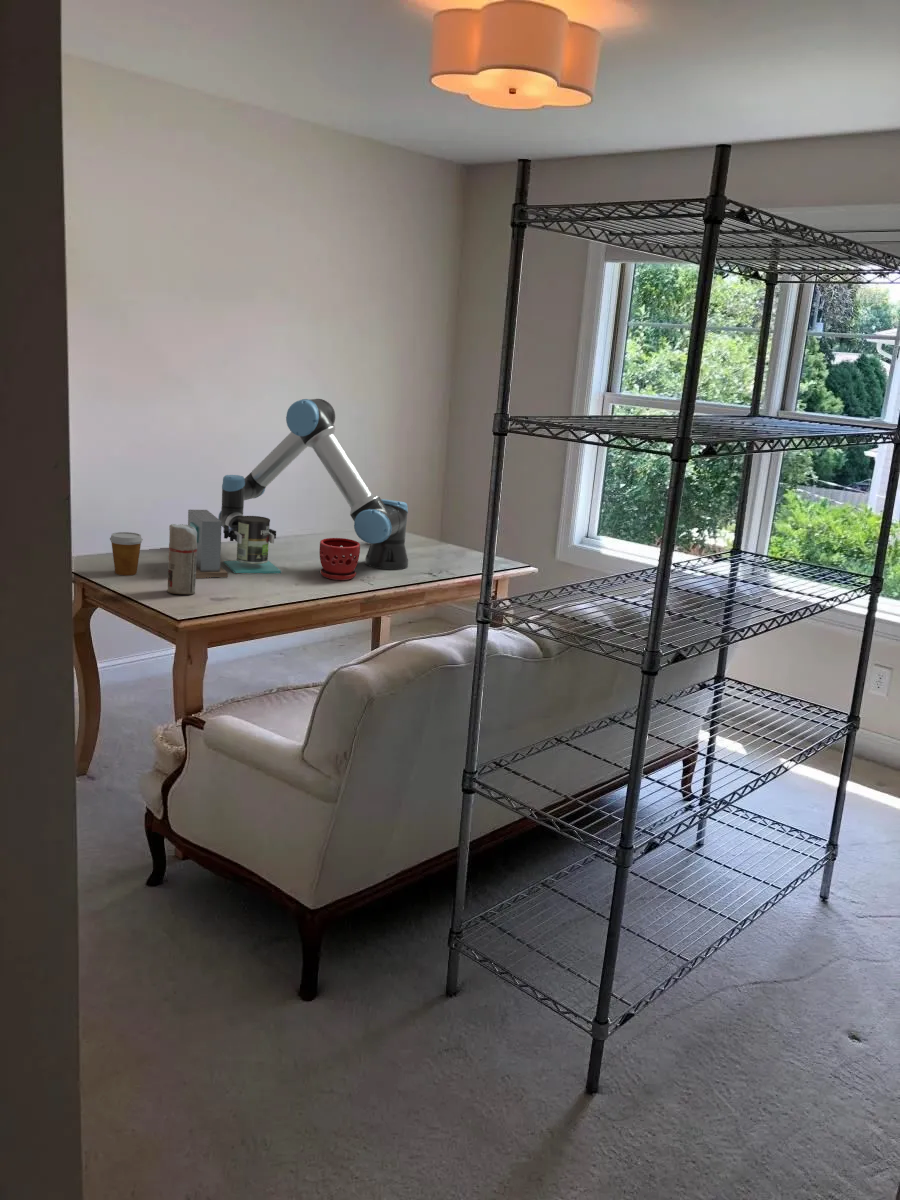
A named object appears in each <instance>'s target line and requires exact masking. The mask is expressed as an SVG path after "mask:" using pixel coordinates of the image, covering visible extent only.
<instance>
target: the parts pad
mask: <svg viewBox="0 0 900 1200" xmlns="http://www.w3.org/2000/svg"><path fill="white" fill-rule="evenodd" d="M224 563H225V564H226V565H227V566H228V567H229V568H230V571H231V572H233V574H235V573H263V574H282V569H280V568H279V567H277V566H275V564H273V563H272V562H271V561H269V560H268V562H267V563H263V564H247V563H242V562H239V561H237V560H224V561H223V564H224ZM225 564H224V565H225ZM226 565H225V566H226ZM227 566H226V567H227Z"/></svg>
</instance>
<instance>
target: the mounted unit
mask: <svg viewBox="0 0 900 1200" xmlns="http://www.w3.org/2000/svg"><path fill="white" fill-rule="evenodd" d="M187 514H188V515H187V525H188V526H191V527H194V528H195V529H196V531H197V561H196V579H212V578H211V577H228V576H229V573H228V571H226V570H225V569H224V567H222V566H221V554H222V553H221V552H222V550H221V549H222V521H220V520H219V519H218V517H217V516H215V515H214V514H213V513H212V512H210V511H209V510H208V509H188V510H187ZM206 577H207V578H206ZM209 577H210V578H209Z"/></svg>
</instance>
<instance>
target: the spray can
mask: <svg viewBox="0 0 900 1200" xmlns="http://www.w3.org/2000/svg"><path fill="white" fill-rule="evenodd" d="M168 530H169V535H168V536H169V542H168V558H167V559H168V566H167V570H168V571H167V589H166V592H168V593H169V594H174V595H193V594H195V593H196V581H197V580H196V579H197V578H196V561H197V531H196V529H195V528H194V527H191V526H188V524H182V523H181V524H176V523H172V524H170V525H169V529H168Z"/></svg>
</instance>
